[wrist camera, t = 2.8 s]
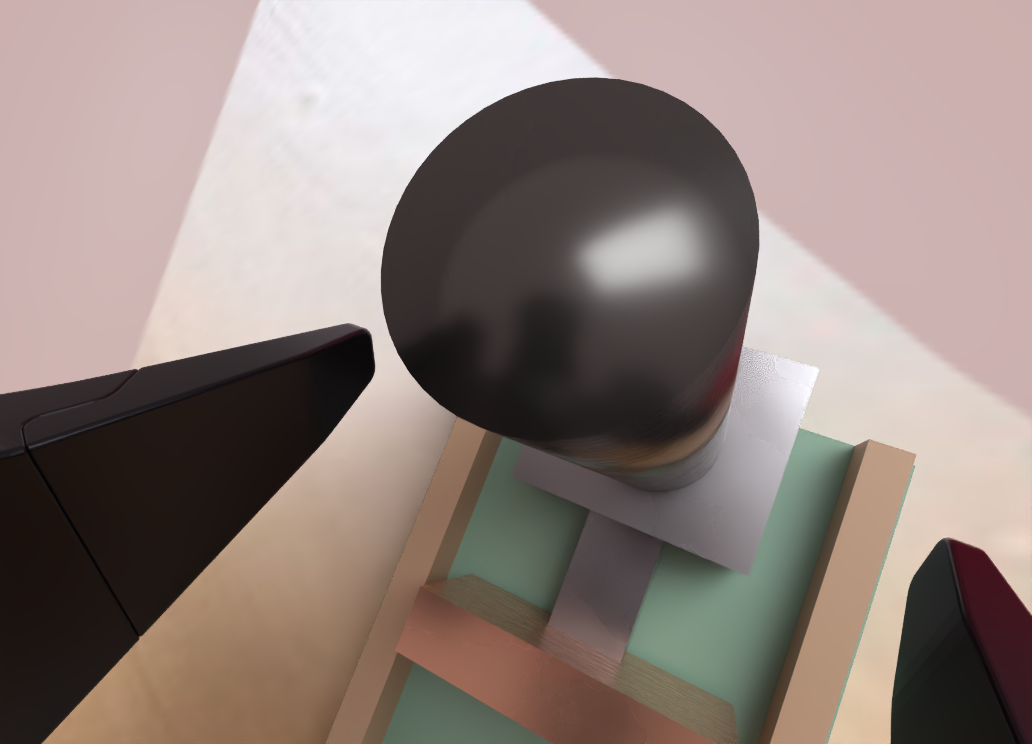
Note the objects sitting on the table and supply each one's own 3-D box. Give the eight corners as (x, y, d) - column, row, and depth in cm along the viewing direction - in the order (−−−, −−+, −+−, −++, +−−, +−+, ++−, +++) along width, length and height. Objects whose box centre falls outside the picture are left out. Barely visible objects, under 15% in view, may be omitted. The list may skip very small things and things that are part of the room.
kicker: (712, 769, 15) (720, 1823, 3) (451, 626, 17) (-98, 859, 6) (836, 398, 16) (1222, 35, 4) (572, 318, 18) (322, -38, 7)
